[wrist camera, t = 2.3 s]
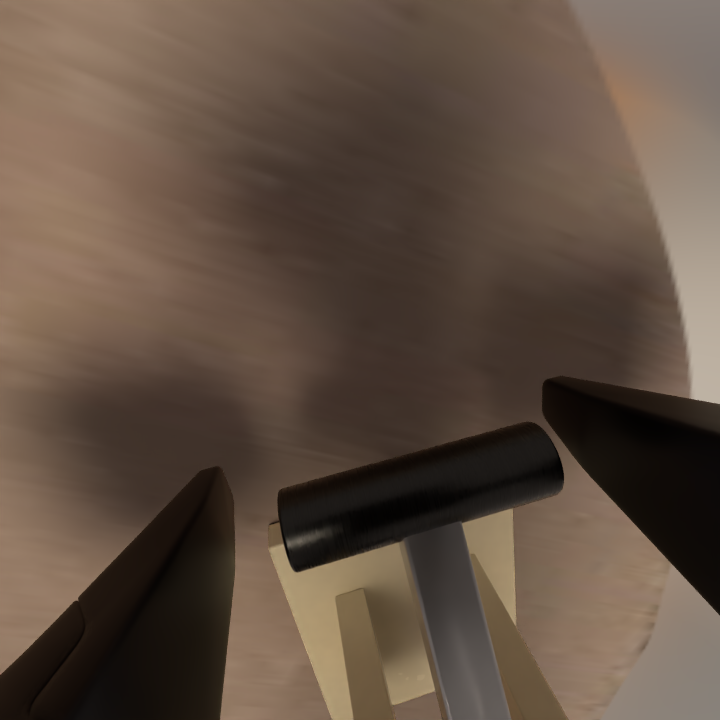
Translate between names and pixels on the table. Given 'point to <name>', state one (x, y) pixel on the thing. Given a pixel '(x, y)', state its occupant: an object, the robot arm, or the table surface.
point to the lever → (430, 541)
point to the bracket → (404, 626)
